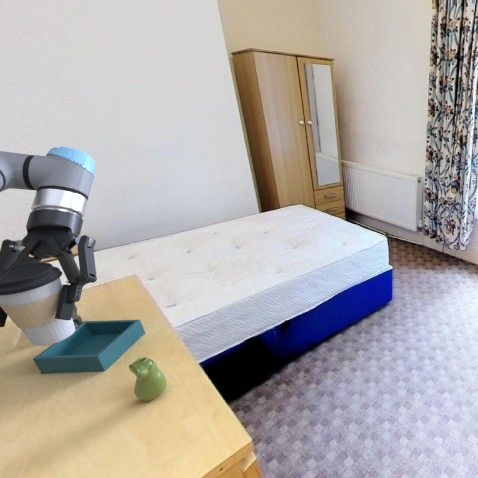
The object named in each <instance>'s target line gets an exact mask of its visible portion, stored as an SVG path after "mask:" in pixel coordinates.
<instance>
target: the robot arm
mask: <svg viewBox="0 0 478 478" xmlns="http://www.w3.org/2000/svg"><path fill="white" fill-rule="evenodd" d="M95 170H96V160H95V159H94V158H93V157H92V156H91V155H90V154H88V153H87V152H85V151H83V150H80V149H76V148H73V147H68V146H60V147H55V146H54V147H51V148H50V149H49V150H48V152H46V154H45V155H41V154H40V155H38V154H37V155H36V154H28V153H19V152H11V151H3V150H0V193H1V192H4V191H6V190H9V189H10V190H11V189H12V190H14V189H15V190H24V191H36V192H35V195H34V198H33V201H32V204H31V207H30V209H31V212H30V213H29V215H28V218H27V222H26V225H25V228H26V229H25V230H26V235H25V236H24V237H23V238H22V239H18V240H11V239H8V238H6V239H4V240H2V242H1V247H0V271H3V270H6V269H9V268H12V267H16V266H20V265H25V264H31V263H41V261H43V260H46V259H52V258H53V259H57V261H58V263H59V265H60V267H61V269H62V272H63V273H64V275H65V278H66V280H65V284H62V285H63V286H62V290H61V294H60V298H59V302H58V306H57V311H56V315H55V319H61V320H71V318H72V313H73V309H74V304H75V303H78V302H79V301H80V300H81V298H82V297H81V296H82V293H83V288H84V287H85V286H86V285H87V284H89V283H92V284H93V283H96V282H97V280H98V277H97V276H98V275H97V269H96V260H95V259H96V258H95V253H94V248H95V246H96V244H97V240H96V239H95V238H93V237H90V236H88V235H86V234H83V235H81V232H82V229H83V223H84V218H85V214H86V210H87V206H88V202H89V197H90V193H91V190H92V186H93V182H94V179H95V177H96V176H95ZM80 235H81V236H80ZM76 246H77V256H78V257H77V258H78V265H77V262H76V260H75V258H76V257H75V255H74V253H73V251H72V249H73V248H74V247H76ZM75 305H76V304H75ZM8 317H9V316H8V315H7V314H6V312H5V311H4V310H3V309H2V308H1V306H0V328H5V325H6V323H7V319H8Z"/></svg>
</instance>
